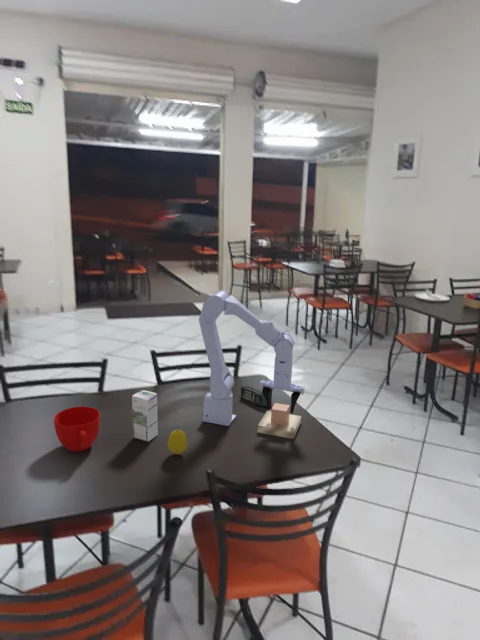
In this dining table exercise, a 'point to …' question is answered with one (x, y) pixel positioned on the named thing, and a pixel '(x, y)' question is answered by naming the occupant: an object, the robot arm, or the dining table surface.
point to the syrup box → (144, 415)
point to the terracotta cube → (280, 414)
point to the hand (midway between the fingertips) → (280, 410)
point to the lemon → (177, 442)
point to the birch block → (279, 426)
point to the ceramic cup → (77, 427)
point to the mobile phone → (253, 396)
